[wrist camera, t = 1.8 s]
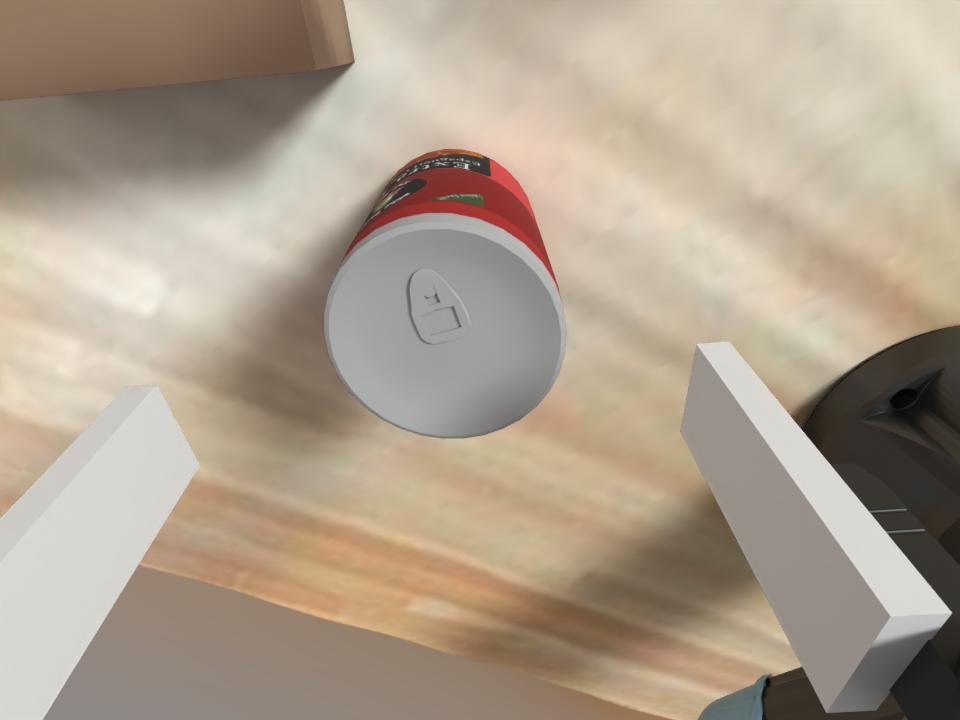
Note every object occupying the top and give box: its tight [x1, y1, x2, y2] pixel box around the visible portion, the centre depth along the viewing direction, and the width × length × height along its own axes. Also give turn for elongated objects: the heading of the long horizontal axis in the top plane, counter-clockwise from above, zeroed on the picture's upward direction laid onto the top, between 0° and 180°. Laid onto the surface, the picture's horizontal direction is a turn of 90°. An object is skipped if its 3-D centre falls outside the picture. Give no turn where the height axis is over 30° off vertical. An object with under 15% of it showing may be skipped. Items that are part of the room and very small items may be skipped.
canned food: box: [324, 149, 566, 438], centre depth 20 cm, size 8×8×11 cm
